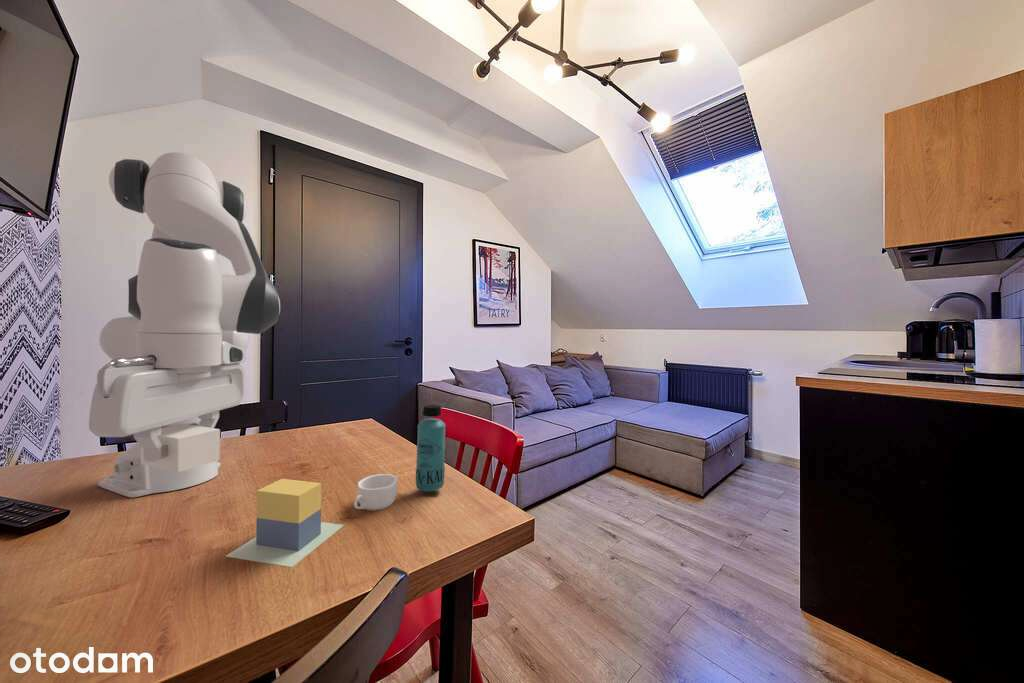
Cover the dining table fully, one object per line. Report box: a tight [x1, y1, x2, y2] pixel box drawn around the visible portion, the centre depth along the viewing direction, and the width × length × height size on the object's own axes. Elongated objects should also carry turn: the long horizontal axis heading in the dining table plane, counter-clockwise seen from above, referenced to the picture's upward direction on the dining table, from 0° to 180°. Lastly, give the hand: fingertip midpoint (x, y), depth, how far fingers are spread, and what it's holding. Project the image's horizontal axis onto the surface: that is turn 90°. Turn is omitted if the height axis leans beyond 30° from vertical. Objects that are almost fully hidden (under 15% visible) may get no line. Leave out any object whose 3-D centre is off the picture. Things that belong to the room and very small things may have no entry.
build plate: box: [225, 521, 345, 568], centre depth 60 cm, size 12×12×1 cm
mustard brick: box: [256, 478, 322, 524], centre depth 60 cm, size 8×5×4 cm, turn 80°
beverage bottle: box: [415, 404, 446, 492], centre depth 81 cm, size 6×7×20 cm
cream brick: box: [141, 424, 221, 472], centre depth 50 cm, size 8×5×4 cm, turn 72°
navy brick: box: [255, 508, 322, 551], centre depth 60 cm, size 8×5×4 cm, turn 80°
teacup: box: [353, 473, 398, 511], centre depth 72 cm, size 10×8×5 cm
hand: (181, 450), depth 50 cm, fingers closed on cream brick, 6 cm apart
